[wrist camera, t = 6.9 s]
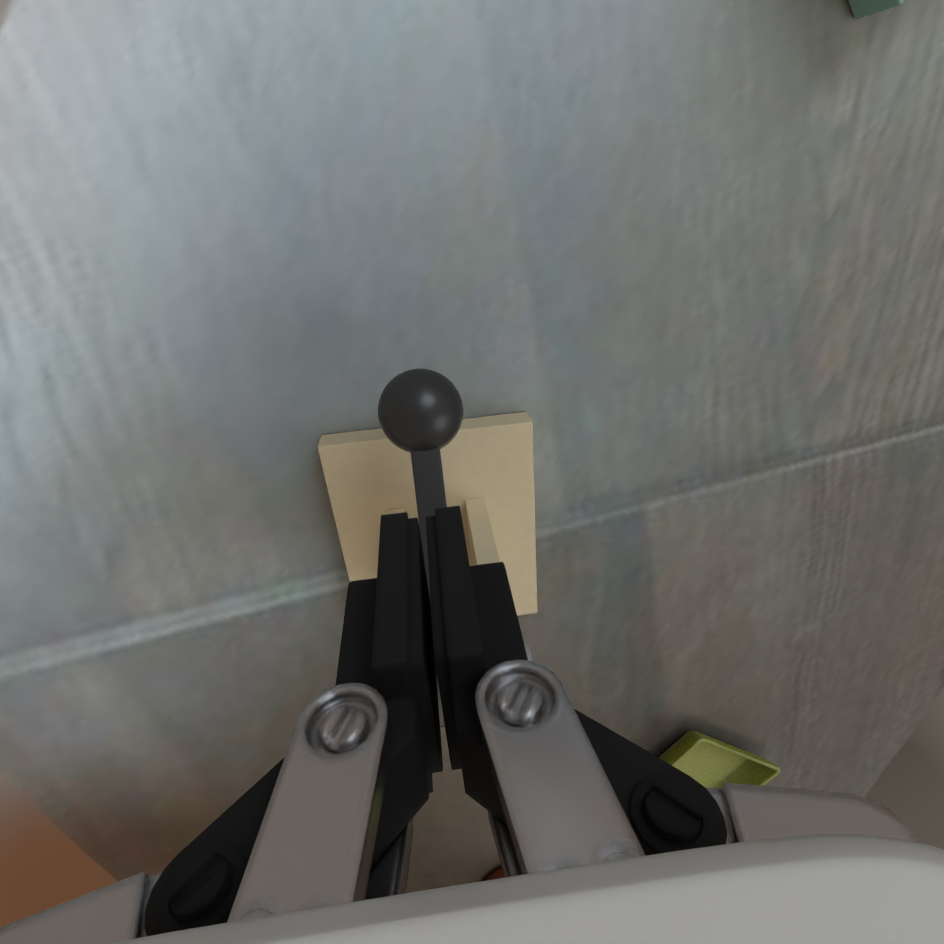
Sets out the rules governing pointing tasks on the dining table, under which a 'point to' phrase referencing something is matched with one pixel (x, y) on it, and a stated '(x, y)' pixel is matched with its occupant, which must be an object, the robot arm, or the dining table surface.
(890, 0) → the control block
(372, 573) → the beige upright bracket
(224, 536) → the dining table surface
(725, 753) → the green square tray
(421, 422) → the lever
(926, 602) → the dining table surface
